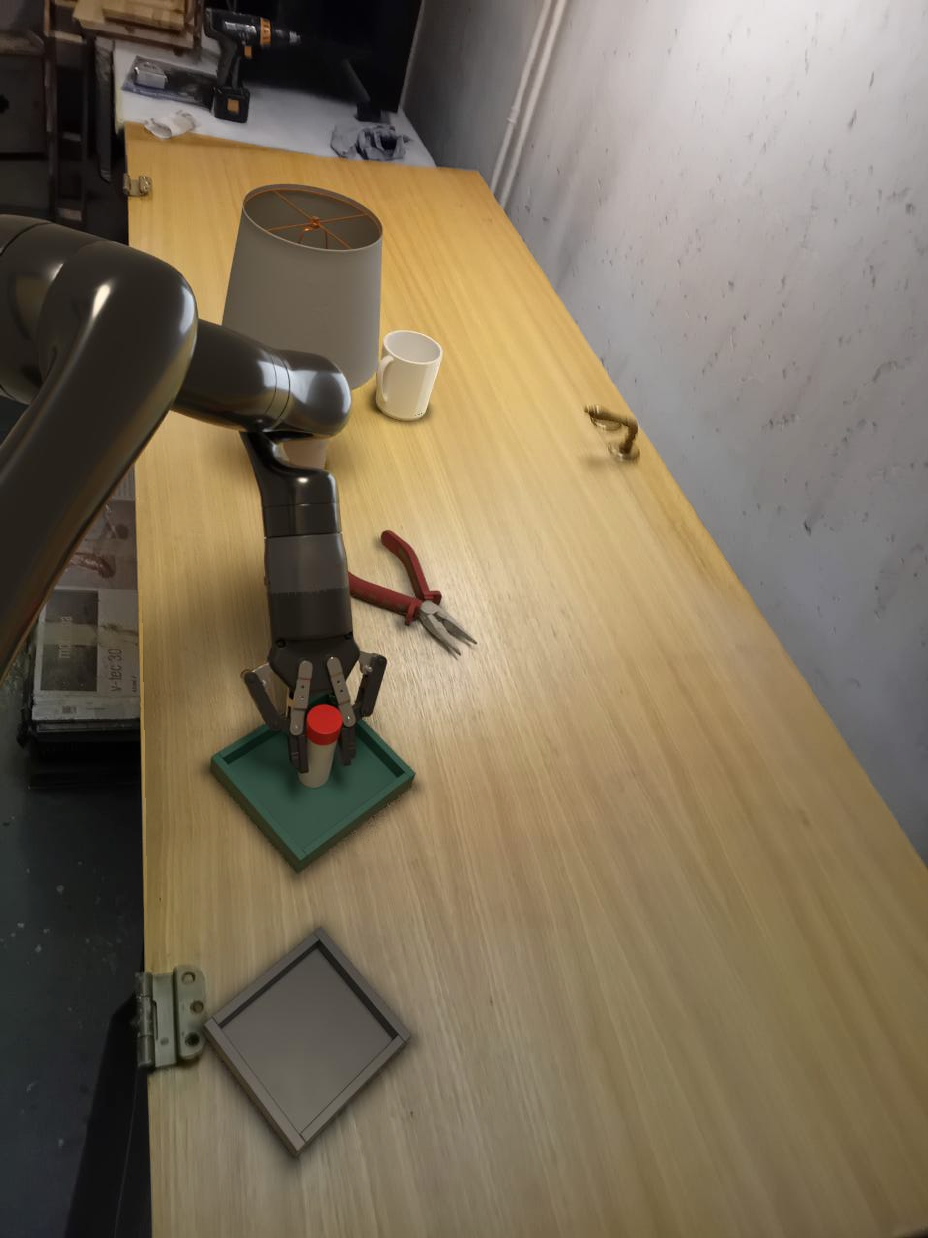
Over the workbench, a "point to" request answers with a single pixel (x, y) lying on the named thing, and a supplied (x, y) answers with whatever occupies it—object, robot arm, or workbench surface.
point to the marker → (321, 743)
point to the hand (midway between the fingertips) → (324, 766)
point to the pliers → (413, 607)
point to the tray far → (302, 813)
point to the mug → (406, 374)
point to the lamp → (308, 283)
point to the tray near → (306, 1038)
